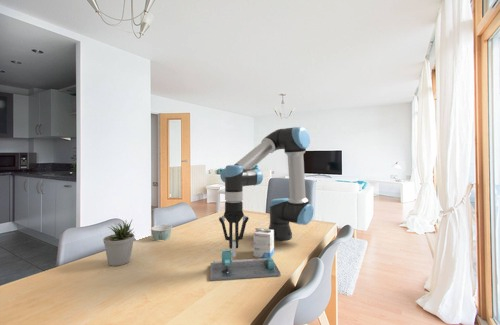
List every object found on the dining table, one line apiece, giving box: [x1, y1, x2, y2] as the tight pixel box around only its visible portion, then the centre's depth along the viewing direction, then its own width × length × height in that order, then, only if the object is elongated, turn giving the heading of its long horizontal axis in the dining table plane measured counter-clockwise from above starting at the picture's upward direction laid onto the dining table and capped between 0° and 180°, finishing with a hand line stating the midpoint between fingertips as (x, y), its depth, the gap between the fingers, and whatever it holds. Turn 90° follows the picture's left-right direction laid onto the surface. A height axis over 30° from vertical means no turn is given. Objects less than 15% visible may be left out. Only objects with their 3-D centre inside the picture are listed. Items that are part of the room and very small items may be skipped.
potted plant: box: [102, 219, 135, 267], centre depth 113 cm, size 13×14×20 cm
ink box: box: [252, 227, 275, 259], centre depth 123 cm, size 9×8×13 cm
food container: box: [150, 224, 173, 241], centre depth 147 cm, size 12×12×6 cm
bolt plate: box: [209, 257, 282, 282], centre depth 105 cm, size 28×14×4 cm, turn 99°
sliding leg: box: [221, 249, 233, 271], centre depth 105 cm, size 4×8×6 cm, turn 9°
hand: (233, 255), depth 107 cm, fingers closed
